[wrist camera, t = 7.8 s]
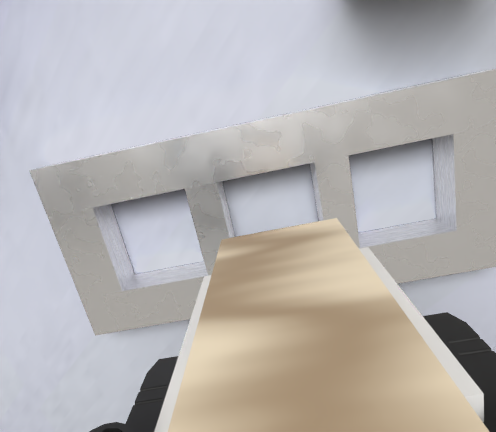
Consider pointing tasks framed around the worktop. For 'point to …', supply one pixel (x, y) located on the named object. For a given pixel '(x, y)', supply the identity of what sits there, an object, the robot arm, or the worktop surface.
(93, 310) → the slotted peg board
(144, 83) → the worktop surface
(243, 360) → the beech peg
